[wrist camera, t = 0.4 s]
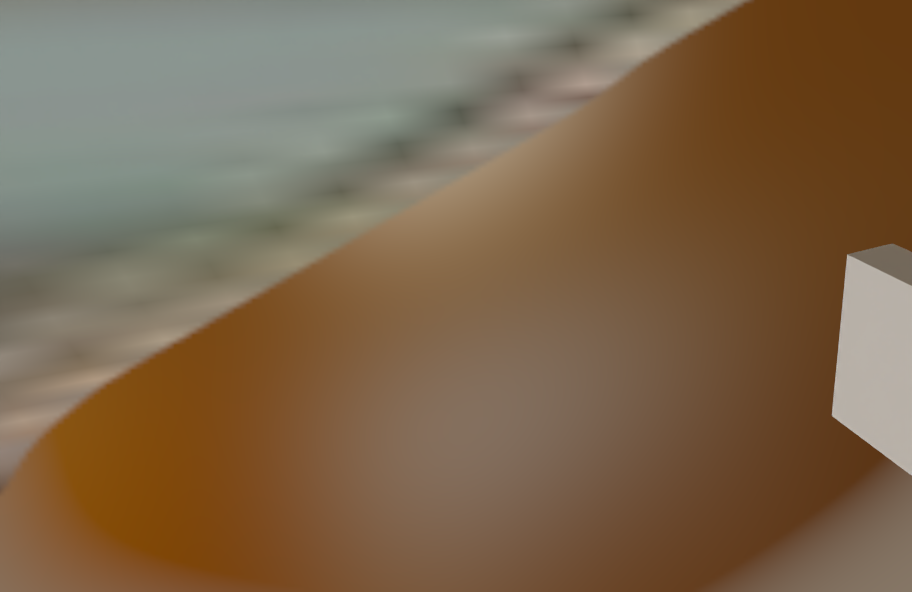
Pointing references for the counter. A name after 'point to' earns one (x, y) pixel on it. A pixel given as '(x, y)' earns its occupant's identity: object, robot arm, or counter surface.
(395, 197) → the counter surface
